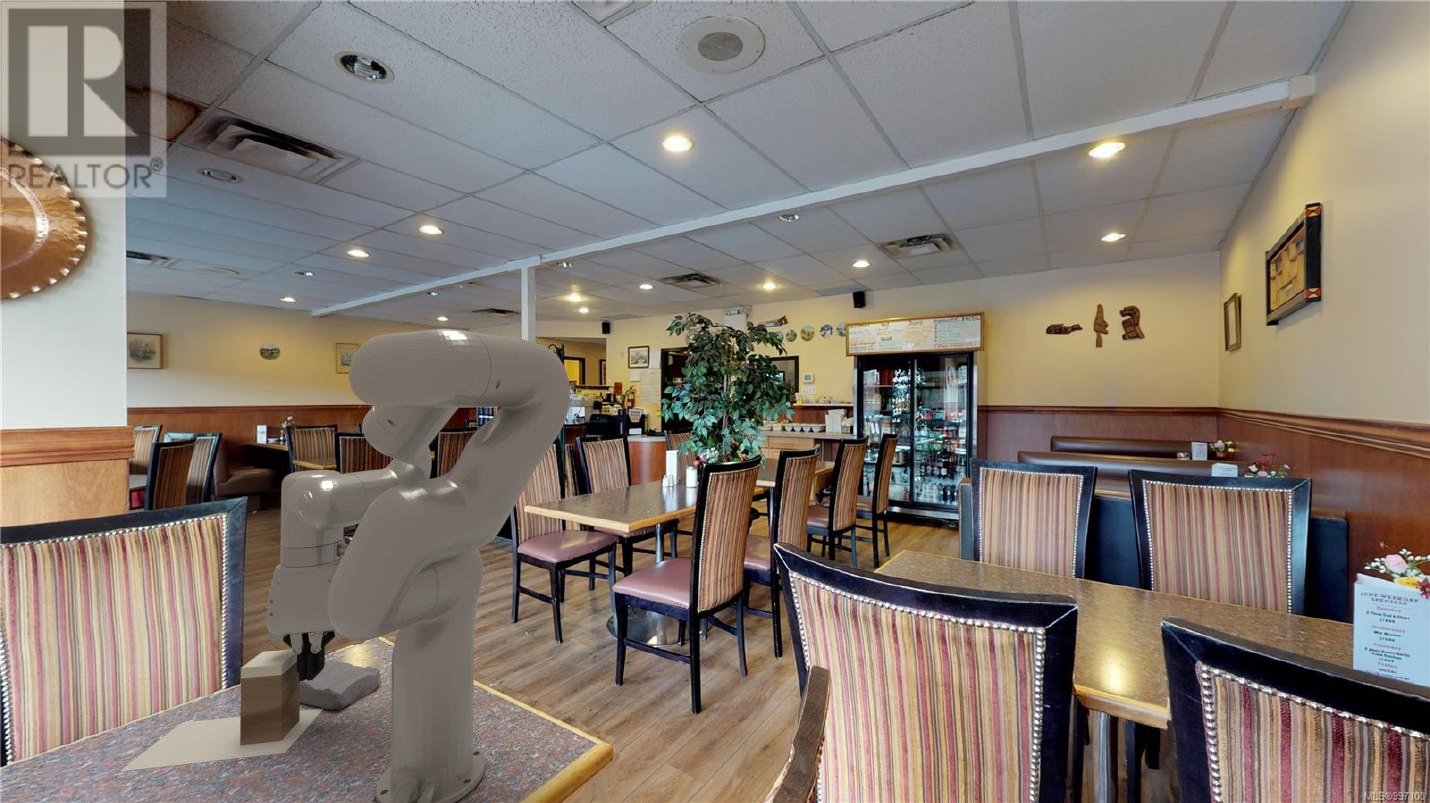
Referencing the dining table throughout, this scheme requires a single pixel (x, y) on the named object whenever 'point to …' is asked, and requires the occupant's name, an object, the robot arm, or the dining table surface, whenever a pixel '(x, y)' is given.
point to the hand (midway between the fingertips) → (310, 675)
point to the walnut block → (269, 697)
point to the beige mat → (213, 743)
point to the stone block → (339, 685)
